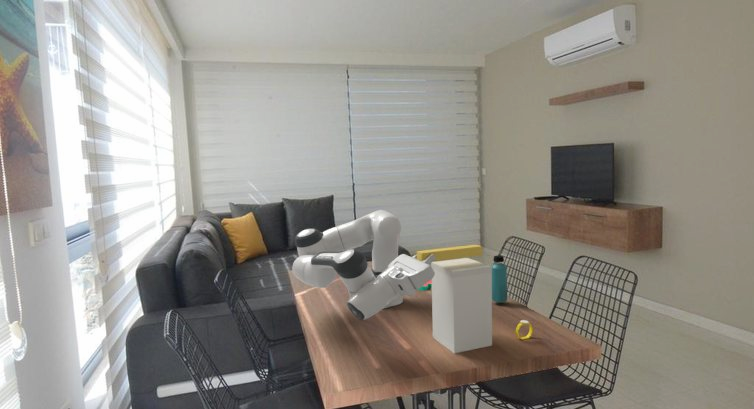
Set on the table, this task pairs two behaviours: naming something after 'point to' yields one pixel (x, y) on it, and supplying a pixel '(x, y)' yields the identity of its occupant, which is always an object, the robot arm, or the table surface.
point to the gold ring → (522, 322)
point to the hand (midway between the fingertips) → (429, 254)
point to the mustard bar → (451, 252)
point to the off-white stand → (462, 304)
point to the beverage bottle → (499, 280)
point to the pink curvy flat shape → (426, 286)
